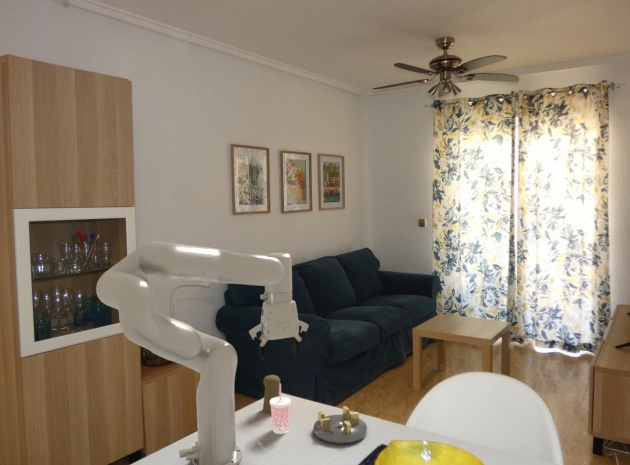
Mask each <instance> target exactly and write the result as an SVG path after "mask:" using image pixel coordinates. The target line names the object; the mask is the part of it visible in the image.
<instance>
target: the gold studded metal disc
mask: <svg viewBox="0 0 630 465" xmlns="http://www.w3.org/2000/svg"><path fill="white" fill-rule="evenodd" d="M367 428H368V427H367V423H366V422H365V421H364V420H362V419H361V418H360V412H358V411H354V412H350V408H349V407H347V406H346V405H343V406H342V414H331V415H325V412H323V411H322V410H318V411H317V420H316V421H315V422H314V424H313V435H314V437H315V438H316V439H317V440H319V441H320V442H322V443H325V444H328V445H334V446H347V445H354V444H357V443H359V442H361V441H362V440H364V439H365V438H366V437H367V433H368V431H367V430H368V429H367Z"/></svg>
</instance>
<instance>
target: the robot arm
mask: <svg viewBox="0 0 630 465" xmlns="http://www.w3.org/2000/svg"><path fill="white" fill-rule="evenodd" d="M292 262H293V261H292V257H291V255H290V254H289V253H287V252H271V253H268V254H248V253H247V254H246V253H241V252H236V251H233V250H231V251H230V250H226V249H223V248H221V249H220V248H216V247H208V246H199V245H191V244H190V245H189V244H183V243H174V242H165V241H159V240H152V241H148V242H145V243H144V244H141V245H140V246H139V247H138V248H136V249H134V250H133V251H132V252H130V253H129V254H128V255H126V256H125V257H124V258H122V259H121V260H120V261H119V262H117V263H116V264H114V265H113V266H111V267H110V268H109V269H108V270H106V271H105V272H104V273H103V274H101V276H100V277H99V279H98V280H97V282H96V288H95V291H96V295H97V298H98V299H99V300H100V302H101V303H103V304H104V305H106V306H108V307H110V308H113V309H115V310H118V316H119V317H118V318H119V324H120V327H121V330H122V333H123V334H124V336H125V337H126V339H127V340H129V341H130V342H132V343H134V344H136V345H137V346H140V347H142V348H144V349H147V350H148V351H149V352H151V353H153V354H154V355H156V356H158V357H160V358H163V359H165V360H168V361H171V362H174V363H177V364H180V365H181V366H184V367H186V368H188V369H190V370H193V371H195V372H197V373H199V375H200V378H199V382H198V383H197V386H196V393H195V396H196V397H195V398H196V421H197V422H196V424H197V426H196V427H197V429H196V430H197V441H195V442H194V444H195V445H193V446H191V447H190V448H183V449H179V450H178V454H179V455H178V457H179V459H182V458H183V459H184V458H185V461H186V462H188V461H191V462H192V465H239V464H240V462H242V459H243V452H242V449H241V448H240V447H239V446H238V445H237V442H236V440H237V438H236V437H237V436H236V435H237V434H236V399H235V398H236V397H235V380H236V374H237V373H236V372H237V367H238V353H237V351H236V349H235V347H234V346H233V344H231V343H229V342H228V341H226V340H224V339H221V338H219V337H217V336H213V335H210V334H207V333H204V332H201V331H199V330H197V329H195V328H194V327H193V326H191V325H190V324H188V323H186V322H184V321H181V320H178V319H176V318H172V317H169V316H168V315H166V314H165V313H163V312H161V311H159V310H158V309H157V307H156V303H155V292H154V289H153V286H152V284H151V282H150V281H151V279H153V278H154V277H156V278H161V279H164V280H165V279H166V280H174V281H189V282H190V281H192V282H193V281H194V282H203V283H204V282H206V283H214V284H215V283H216V284H233V285H234V284H236V285H247V286H260V287H264V293H263V294H260V295H259V296H260V300H263V302H262V307H261V308H262V309H261V315H260V323H259V324H258V325H256V326H254V327H253V328H251V329H250V330H249V331H248V333H249V335H250V336H251V339H252V340H253V341H254V342H255V343H257V345H258V356H259V357H260V359H261V360H263V361H266V360H267V346H266V343H267V342H268V341H270V340H271V341H274V340H281V339H286V338H287V339H289V338H293V339H292V353H293V354H294V355H295V356H298V357H299V355H300V351H301V342H302V339H303V338H304V337H305V336H306V332H307V330H308V328H309V327H310V326H309V324H308V323H306V322H305V321H302V320H299V316H298V315H299V314H298V308H297V303H296V301H295V300H293V270H292V268H293V266H292V265H293V264H292ZM300 327H301V329H300ZM258 332H260V334H261V335H260V337H258V336H257V333H258Z"/></svg>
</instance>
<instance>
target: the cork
mask: <svg viewBox="0 0 630 465" xmlns="http://www.w3.org/2000/svg"><path fill="white" fill-rule="evenodd" d="M279 383H281V378H280V377H279V375H275V374H270V375H266V376H265V377H264V378H263V382H262V384H263V387H264V397H263V404H262V411H263V413H265V414H268V415H270V414H271V405H270V400H271V399H272V398H274V397H279ZM271 415H272V414H271Z"/></svg>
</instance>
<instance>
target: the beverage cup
mask: <svg viewBox="0 0 630 465" xmlns="http://www.w3.org/2000/svg"><path fill="white" fill-rule="evenodd" d="M278 387H279V397H274V398H272V399H271V400H270V405H271V425H272V432H273V433H274V434H278V435H283V434H286V433H288V432H289V429H290V415H291V414H290V411H291V404H292V399H291V398H290V397H288V396H282V384H281V382H280V383H279V386H278Z"/></svg>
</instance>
